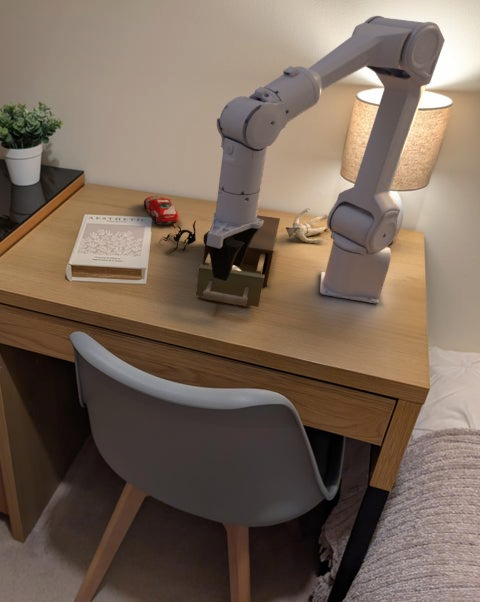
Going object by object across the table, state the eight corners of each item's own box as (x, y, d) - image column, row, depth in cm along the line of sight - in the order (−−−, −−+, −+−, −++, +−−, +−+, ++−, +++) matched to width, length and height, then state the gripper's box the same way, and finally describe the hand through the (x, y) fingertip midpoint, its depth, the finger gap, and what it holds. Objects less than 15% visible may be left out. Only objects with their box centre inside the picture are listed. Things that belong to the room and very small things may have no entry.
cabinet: (266, 286, 103) (273, 250, 99) (201, 275, 106) (205, 240, 102) (273, 251, 114) (280, 218, 110) (214, 243, 118) (218, 210, 114)
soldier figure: (338, 239, 120) (314, 240, 112) (317, 249, 123) (292, 250, 115) (324, 207, 122) (299, 205, 113) (304, 217, 125) (278, 216, 117)
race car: (141, 205, 135) (141, 189, 133) (163, 203, 135) (164, 187, 133) (156, 228, 124) (157, 211, 122) (180, 226, 124) (181, 209, 122)
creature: (158, 258, 114) (198, 254, 112) (154, 235, 112) (194, 229, 110) (161, 241, 121) (199, 236, 119) (157, 218, 118) (195, 213, 116)
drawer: (255, 322, 92) (260, 293, 89) (189, 310, 95) (192, 281, 92) (266, 270, 106) (271, 243, 103) (209, 261, 109) (212, 234, 106)
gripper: (247, 211, 73) (233, 299, 80) (284, 177, 82) (269, 259, 90) (197, 199, 76) (188, 285, 83) (238, 168, 86) (227, 247, 93)
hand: (227, 271), depth 87 cm, fingers open, 5 cm apart
